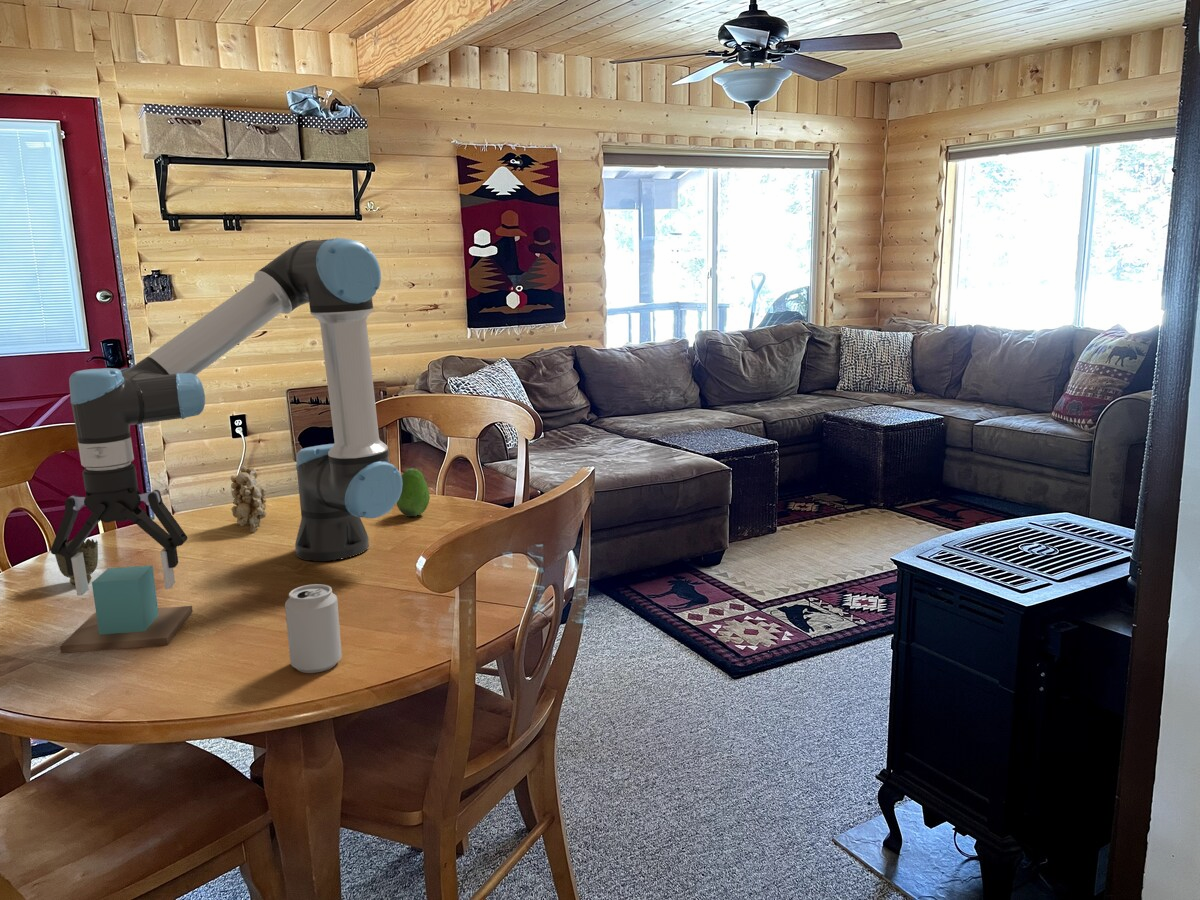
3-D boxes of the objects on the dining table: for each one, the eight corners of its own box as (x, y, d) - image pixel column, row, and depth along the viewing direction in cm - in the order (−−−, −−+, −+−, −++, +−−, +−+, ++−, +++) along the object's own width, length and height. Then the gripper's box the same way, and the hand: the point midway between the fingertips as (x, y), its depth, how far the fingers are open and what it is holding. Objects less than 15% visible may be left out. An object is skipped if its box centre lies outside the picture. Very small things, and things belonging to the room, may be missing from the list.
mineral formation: (265, 518, 214) (260, 458, 211) (276, 531, 203) (271, 468, 200) (230, 523, 210) (224, 462, 207) (240, 537, 199) (233, 473, 195)
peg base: (192, 612, 155) (188, 573, 154) (167, 644, 142) (162, 602, 140) (95, 619, 153) (90, 579, 151) (60, 653, 139) (54, 610, 138)
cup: (82, 591, 166) (77, 551, 164) (49, 589, 168) (43, 549, 166) (111, 577, 173) (106, 539, 172) (79, 575, 175) (74, 537, 173)
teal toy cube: (158, 615, 151) (152, 565, 149) (144, 631, 144) (138, 579, 142) (115, 618, 150) (108, 568, 148) (99, 634, 143) (91, 582, 141)
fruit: (403, 511, 218) (400, 464, 216) (434, 511, 217) (431, 464, 215) (392, 520, 210) (389, 471, 208) (424, 520, 210) (421, 471, 207)
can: (297, 655, 137) (291, 582, 135) (346, 652, 138) (340, 580, 135) (285, 676, 130) (277, 600, 127) (336, 674, 130) (330, 598, 128)
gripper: (13, 475, 136) (35, 604, 140) (183, 465, 140) (199, 591, 144) (35, 464, 143) (55, 587, 148) (196, 455, 147) (211, 575, 151)
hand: (127, 589), depth 146 cm, fingers open, 13 cm apart
